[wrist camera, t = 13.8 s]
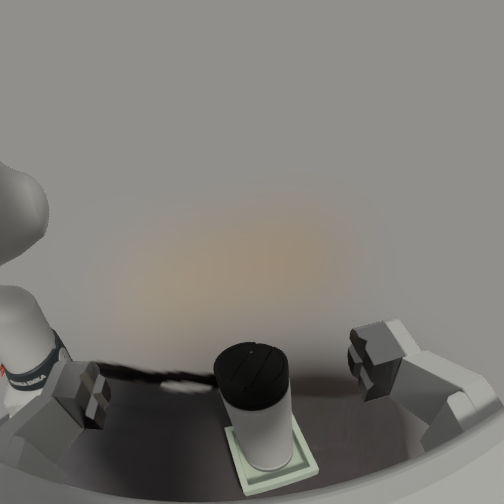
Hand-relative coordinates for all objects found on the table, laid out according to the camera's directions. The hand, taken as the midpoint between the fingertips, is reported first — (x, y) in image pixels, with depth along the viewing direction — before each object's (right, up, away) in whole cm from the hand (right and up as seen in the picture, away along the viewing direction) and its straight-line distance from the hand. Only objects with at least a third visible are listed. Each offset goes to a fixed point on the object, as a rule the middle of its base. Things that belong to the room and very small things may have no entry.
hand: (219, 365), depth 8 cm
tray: (+3, -23, +24) cm, 34 cm away
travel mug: (+3, -23, +24) cm, 33 cm away
